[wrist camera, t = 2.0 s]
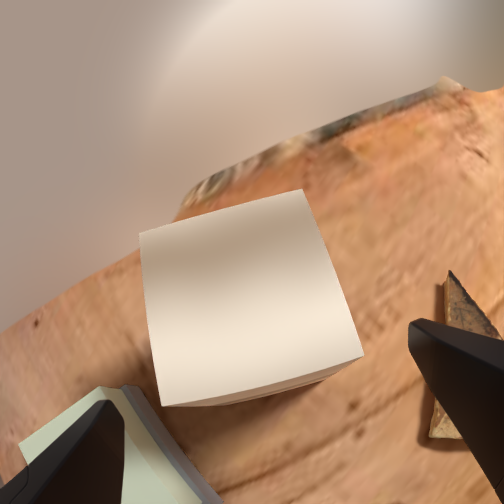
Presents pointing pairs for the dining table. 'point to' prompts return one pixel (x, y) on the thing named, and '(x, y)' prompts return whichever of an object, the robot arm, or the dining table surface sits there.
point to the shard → (467, 318)
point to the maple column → (244, 304)
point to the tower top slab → (136, 453)
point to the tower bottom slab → (170, 446)
